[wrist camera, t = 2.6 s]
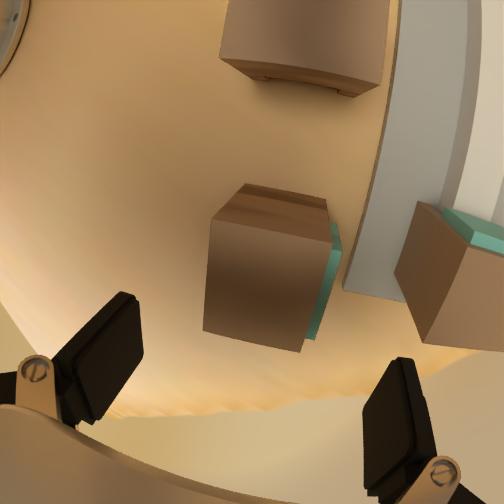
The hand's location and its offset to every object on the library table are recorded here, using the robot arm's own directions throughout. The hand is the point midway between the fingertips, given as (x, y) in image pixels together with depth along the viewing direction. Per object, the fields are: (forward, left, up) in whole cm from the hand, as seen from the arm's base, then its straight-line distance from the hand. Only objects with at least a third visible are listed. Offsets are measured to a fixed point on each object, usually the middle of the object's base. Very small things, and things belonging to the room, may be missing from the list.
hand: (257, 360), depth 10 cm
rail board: (+10, +10, -11) cm, 18 cm away
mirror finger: (-1, +12, -11) cm, 16 cm away
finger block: (-1, 0, -11) cm, 11 cm away
